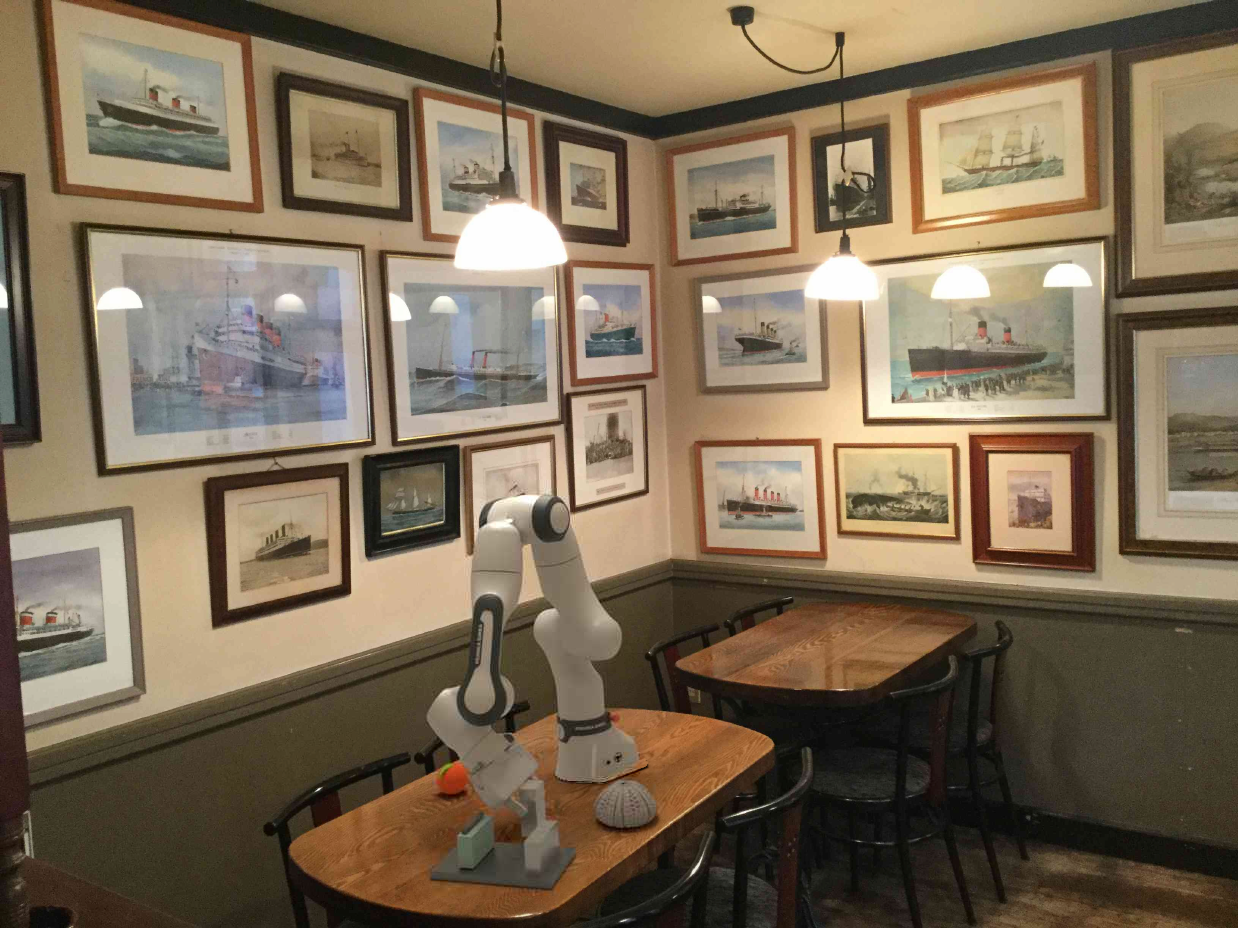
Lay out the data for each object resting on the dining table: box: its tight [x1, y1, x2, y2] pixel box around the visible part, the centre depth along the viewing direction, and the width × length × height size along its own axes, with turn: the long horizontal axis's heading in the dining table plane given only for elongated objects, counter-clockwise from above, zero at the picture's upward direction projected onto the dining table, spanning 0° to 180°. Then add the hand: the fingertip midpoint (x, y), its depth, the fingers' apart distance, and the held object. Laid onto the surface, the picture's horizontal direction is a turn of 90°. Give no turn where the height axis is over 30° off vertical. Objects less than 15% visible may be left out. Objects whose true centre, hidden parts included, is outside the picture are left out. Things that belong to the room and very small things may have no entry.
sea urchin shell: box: [592, 779, 658, 829], centre depth 210 cm, size 13×14×8 cm
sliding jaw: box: [456, 810, 496, 869], centre depth 193 cm, size 3×10×7 cm, turn 164°
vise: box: [429, 819, 576, 890], centre depth 191 cm, size 24×14×8 cm, turn 74°
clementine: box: [436, 762, 468, 795], centre depth 230 cm, size 8×7×7 cm
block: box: [518, 779, 547, 838], centre depth 206 cm, size 4×5×10 cm
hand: (534, 804), depth 206 cm, fingers open, 8 cm apart
